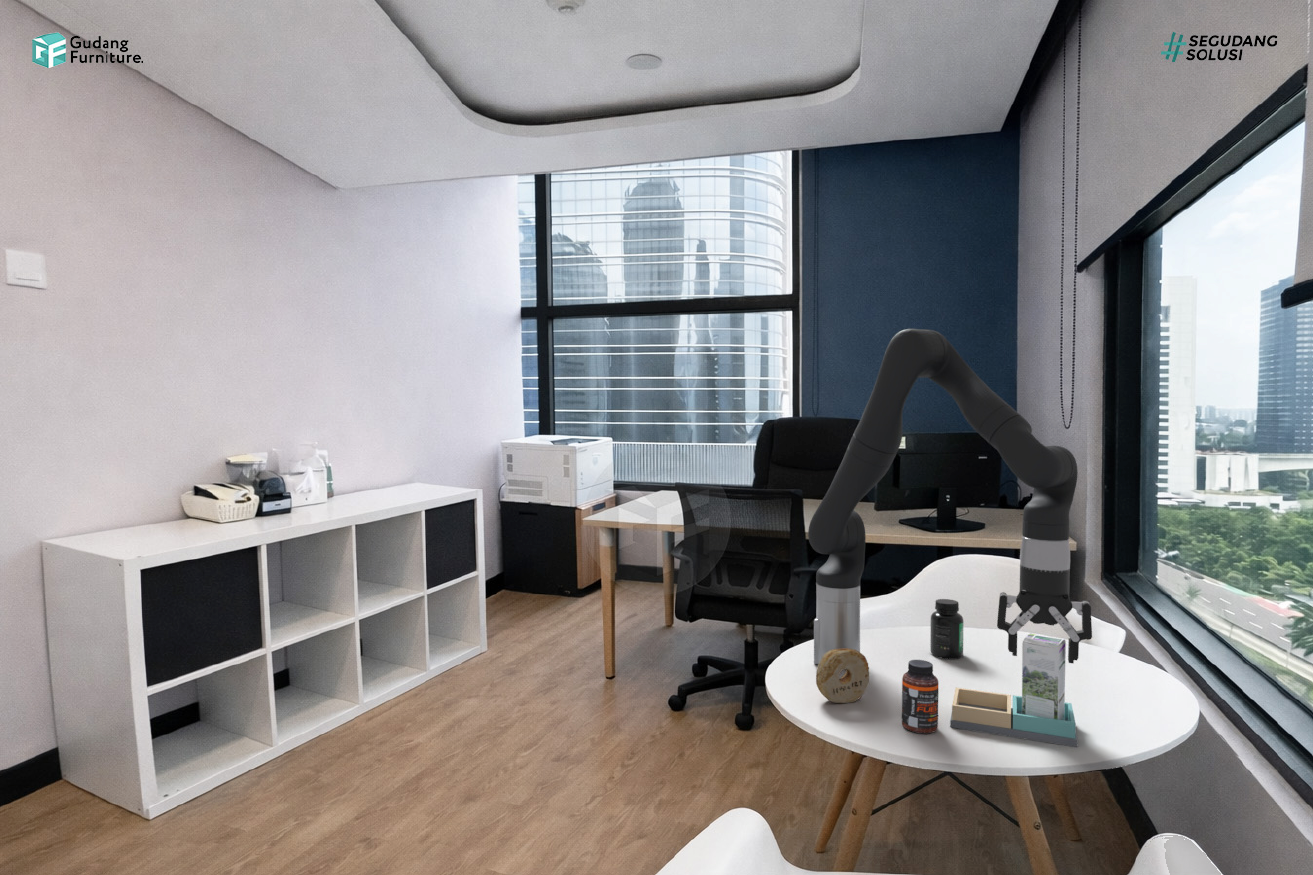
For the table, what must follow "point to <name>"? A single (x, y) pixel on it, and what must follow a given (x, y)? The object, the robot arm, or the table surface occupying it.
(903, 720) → the supplement bottle
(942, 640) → the supplement bottle
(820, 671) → the stone disc
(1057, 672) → the syrup box
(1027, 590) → the robot arm
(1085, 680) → the table surface
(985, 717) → the teal and wood tray
